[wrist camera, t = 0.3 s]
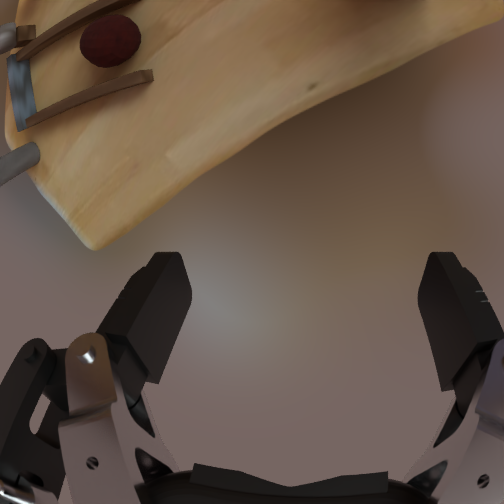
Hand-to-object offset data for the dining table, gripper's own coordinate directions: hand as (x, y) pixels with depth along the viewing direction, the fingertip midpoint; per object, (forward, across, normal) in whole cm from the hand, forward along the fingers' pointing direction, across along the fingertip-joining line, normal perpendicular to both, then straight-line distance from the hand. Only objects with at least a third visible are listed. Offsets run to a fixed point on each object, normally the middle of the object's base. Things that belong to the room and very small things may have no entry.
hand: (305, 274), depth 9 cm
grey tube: (+28, +46, -3) cm, 54 cm away
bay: (+28, +30, -17) cm, 45 cm away
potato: (+28, +22, -15) cm, 39 cm away
